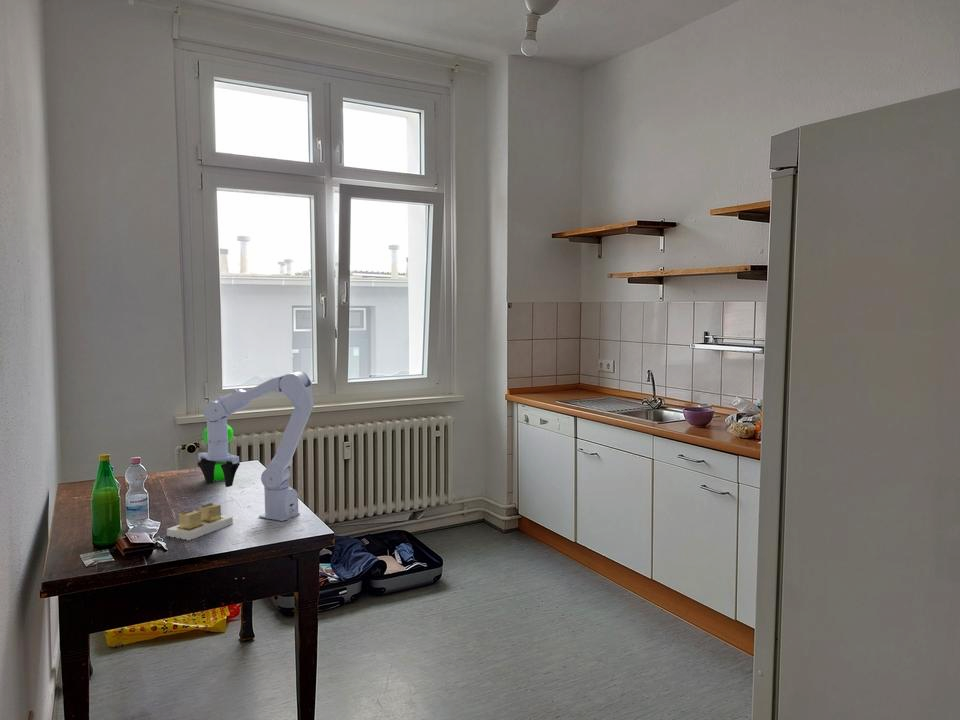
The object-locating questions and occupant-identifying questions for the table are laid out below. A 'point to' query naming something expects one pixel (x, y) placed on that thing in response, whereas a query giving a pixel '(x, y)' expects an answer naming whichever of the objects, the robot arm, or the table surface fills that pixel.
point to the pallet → (199, 529)
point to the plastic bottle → (218, 469)
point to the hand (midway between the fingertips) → (219, 484)
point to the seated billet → (189, 520)
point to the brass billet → (210, 512)
